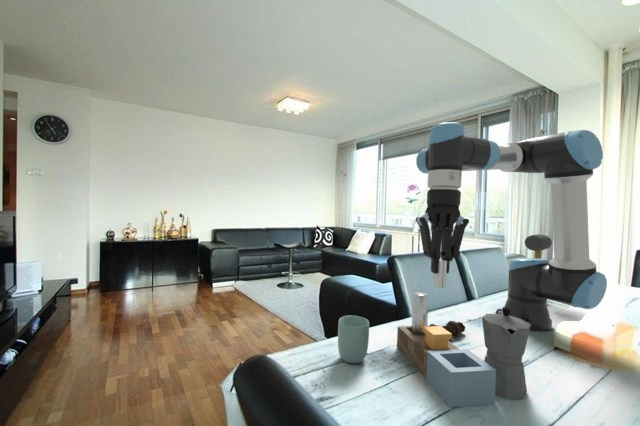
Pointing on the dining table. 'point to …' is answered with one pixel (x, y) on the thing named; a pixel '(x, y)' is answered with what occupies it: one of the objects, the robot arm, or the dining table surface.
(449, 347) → the socket block
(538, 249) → the rubber mallet
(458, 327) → the bolt
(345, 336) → the cup
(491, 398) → the block
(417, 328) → the brushed steel rod
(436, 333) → the release button
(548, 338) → the dining table surface
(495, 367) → the coffeepot
